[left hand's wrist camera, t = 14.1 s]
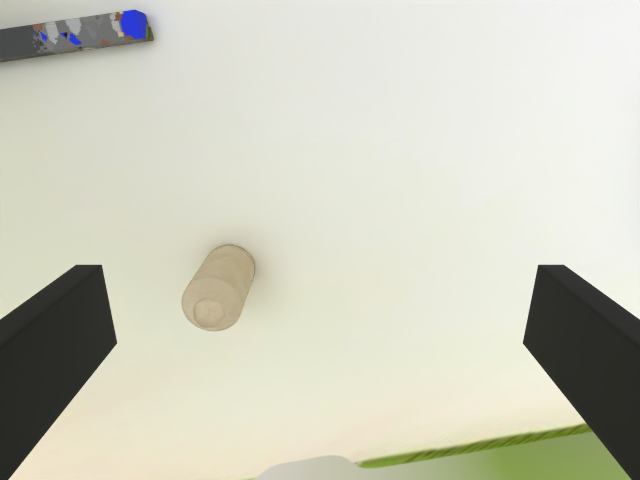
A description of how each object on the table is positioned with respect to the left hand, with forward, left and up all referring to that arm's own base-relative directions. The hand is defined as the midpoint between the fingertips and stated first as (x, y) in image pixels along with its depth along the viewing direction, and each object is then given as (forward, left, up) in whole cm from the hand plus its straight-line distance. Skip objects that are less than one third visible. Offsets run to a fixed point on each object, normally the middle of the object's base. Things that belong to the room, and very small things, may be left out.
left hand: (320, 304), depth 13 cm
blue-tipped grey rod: (-4, +27, -31) cm, 41 cm away
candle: (-16, +2, -31) cm, 35 cm away
